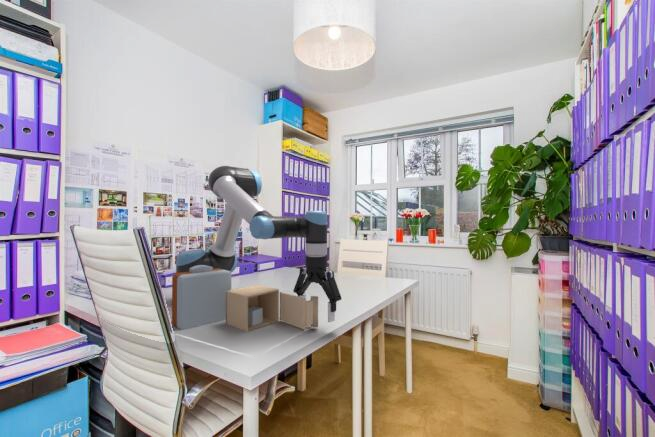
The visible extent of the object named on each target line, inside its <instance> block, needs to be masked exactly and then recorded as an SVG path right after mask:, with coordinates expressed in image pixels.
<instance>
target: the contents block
mask: <svg viewBox="0 0 655 437" xmlns="http://www.w3.org/2000/svg"><path fill="white" fill-rule="evenodd" d="M261 322H263V308H261V307H255V306H251V307H248V325H251V326H254V325H256V324H258V323H261Z"/></svg>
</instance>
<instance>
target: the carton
mask: <svg viewBox="0 0 655 437" xmlns="http://www.w3.org/2000/svg"><path fill="white" fill-rule="evenodd" d="M251 306H255V307H261V308H263V322H261V323H258V324H256V325H254V326H251V325H248V307H251ZM279 321H280V289H279V288H275V287H270V286H266V285H261V284H256V285H250V286H245V287H241V288H235V289H231V290H229V291H226V320H225V324H226V325H229V326H232V327H235V328H237V329H240V330H242V331H245V332H248V331H251V330H255V329H258V328H261V327H264V326H266V325H267V326H268V325H271V324H274V323H276V322H279Z"/></svg>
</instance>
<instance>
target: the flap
mask: <svg viewBox="0 0 655 437" xmlns="http://www.w3.org/2000/svg"><path fill="white" fill-rule="evenodd" d="M279 321H281V322H284V323H287V324H289V325H291V326H294V327H297V328H299V329H302V330H306V329H307V327H308V326H309V327H311V328H313V329H314V328H318V327H319V296H318V295H311V296H310V300H307V298H306V299H305V298H301V297H298V295H293V294H290V293H287V292H283V291H281V292H280V291H279Z"/></svg>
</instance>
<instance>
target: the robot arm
mask: <svg viewBox="0 0 655 437" xmlns="http://www.w3.org/2000/svg"><path fill="white" fill-rule="evenodd" d="M207 181H208V187H209V189H210V191H211V192H212V193H213V194H214V195H215V196H216V197H217V198H219V199H220V198H221V199H222V200H223V201H225V202H226V205H225V207H224V212H223V214H222V219H221V222H220V225H219V228H218V232H217V236H216V238H215V242H214V243H213V244H211V245H210V248H209V250H208V251H205V250H204V248H203V249H202V248H200V249H190V250H185V251H182V252H179V253H178V254H177V255H176V260H175V262H176V263H175V268H176V269H175V274H176V273H181V272H189V269H190V268H191V267H194V266H197V265H207V266H211V267H213V269H217V268H219V269H223V270H227V271H230V272H231V274H232V273H233V272H234V271H235V270H236V269H237V266H238V255H237V253H236V250H235V248H234V246H235V244H236V241H237V238H238V235H239V231H240V228H241V225H242V222H243V219H244V220H245V222H246V223H248V226H249V232H250V234H251V236H252V237H253V238H254V239H257V240H258V239H259V240H268V239H271V240H273V239H285V238H286V239H288V238H292V239H293V238H305V251H304V252H305V255H306V256H305V258H304V260H305V267H300V268H299V272H298V273H299V274H298V277H297V280H296V282H295V285H294V287H293V291H292V292H293V293H296V296H298V297H301V298H305V299H306V300H307V297H306V296H307V295H306V292H307V290H308V288H309V286H310V285H311V284H312V283H315V284H318V285H319V286H321V288H322V290H323V291H324V293H325V295H326V296H327V299H328V300H329V301H328V302H327V323H333V322H334V321H336V320H335V318H336V317H335V316H336V315H335V314H336V313H335V312H336V311H337V302H339V301H341V300H342V296H341V293H340V290H339V287H338V285H337V281H336V279H335V272H334V270H330V271H327V267H328V256H327V255H328V224H329V223H328V213H327V212H326V211H324V210H307V211H306V212H305V216H282V215H281V216H274V215H272V214H271V213H270V212H269V211H268V210H267V209H265V208H264V207H263V206H262V205H261V204H260V203H258V201H256V200H255V199H254V197H257V196H258V195H260V194H261V191H262V188H263V183H262V182H263V181H262V179H261V175H260V174H259V172H257V171H256V170H254V169H249V168H243V167H237V166H229V165H221V166H218V167H216V168H214V169H213V170H212V171H211V172H210V174H209V176H208V180H207Z"/></svg>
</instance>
